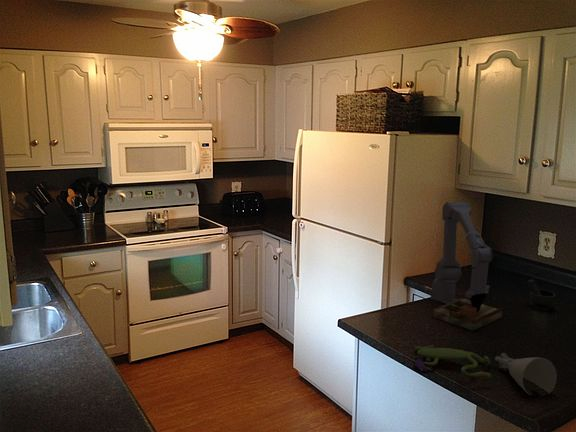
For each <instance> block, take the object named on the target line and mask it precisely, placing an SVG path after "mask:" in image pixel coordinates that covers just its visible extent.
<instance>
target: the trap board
mask: <svg viewBox="0 0 576 432" xmlns="http://www.w3.org/2000/svg"><path fill="white" fill-rule="evenodd" d="M457 299H458V300H455V301H453V302H450V303H448V304H444V305H440V306H439V307H436V308H433V309H432V310H431V311H432V312H431V318H434V319H437V320H439V319H440V320H439V321H442V320H443V321H442V322H445V321H446V322H445V323H447V322H449V323H448V324H450V323H452V324H451V325H453V324H455V325H454V326H456V325H458V326H461V327H464V328H467V329H470V330H473V331H474V330H476V329H478V328H480V327H482V326H484V325H486V326H488V325H489V323H490V324H492V323H494V322H495V321H498V320H500V319H502V318H501V317H503V308H504V307H501V306H500V307H499V308H496V307H492V306H489V305H486V304H483V303H482V305H481V308H480V310H479V312H476V319H474V318H471V317H468V316H465V315H462V314H459V312H460V307H462V306H464V305H469V306H472V305H471V301H470V299H468V298H464V297H460V298H457ZM497 319H498V320H497ZM493 321H494V322H493ZM491 322H492V323H491ZM487 324H488V325H487ZM458 326H457V327H458ZM461 327H460V328H461ZM484 327H485V326H484ZM464 328H463V329H464ZM482 328H483V327H482ZM467 329H466V330H467ZM480 329H481V328H480ZM470 330H469V331H470ZM478 330H479V329H478ZM476 331H477V330H476ZM474 332H475V331H474Z"/></svg>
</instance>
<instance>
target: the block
mask: <svg viewBox="0 0 576 432" xmlns="http://www.w3.org/2000/svg"><path fill="white" fill-rule="evenodd" d="M476 312H477V308H475V307H472V306H469V305H464V306H462V307H460V312H459V314H462V315H465V316H468V317H471V318H474V319H476Z"/></svg>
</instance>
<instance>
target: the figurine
mask: <svg viewBox="0 0 576 432" xmlns="http://www.w3.org/2000/svg"><path fill="white" fill-rule="evenodd" d="M434 346H435V345H434V344H431V345H429V346H428V345H426V346H420V345H419V346H418V345H416V346H415V347H414V349H415V350H416V351H417V352H416V353H417V354H418V355H419V356H421V358H420V357H419V358H417V359H415V360H414V366H415V367H416V368H417V369H418V370H419V372H425V373H428V372H429V369H428V366H436V365H437V364H438V363H439V360H445V361H446V362H448V363H449V364H451V365H452V362H451V361H449V360H463V359H464V360H465V359H467V360H468V361H469V362H471V363H472V364H467V365H464V366H462V367H461V368H460V372H461V373H463V375H467V376H469V377H486V378H489V379H491V378H492V373H489V372H485V371H478V372H472V373H471V372H467V371H466V370H470V369H475V368H477V367H478V362H477V360H478V361H479V362H481V363H485V362H486V363H487V365H488V364H490V365H491V362H492V361H491V359H490V358H489V356H487V355H484V356H483V358H482V357H481V356H480V355H478V354H477V353H475V352H472V351H466V350H463V349H456V348H449V347H447V348H446V347H434ZM422 356H423V357H426V358H425V360H426V361H424V358H423V357H422ZM475 359H476V360H475ZM432 360H433V361H432ZM427 361H430V362H427Z"/></svg>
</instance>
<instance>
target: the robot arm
mask: <svg viewBox="0 0 576 432" xmlns="http://www.w3.org/2000/svg"><path fill="white" fill-rule="evenodd" d="M441 213H442V214H441V215H442V216H441V219H442V221H443V223H444V225H443V244H442V245H443V248H442V249H443V250H442V258H441V259H440V260H438V261H436V263H435V269H434V277H435V278H434V279H433V281H432V283H431V292H430V297H429V299H431V300H434V301H437V302H439V303H444V305H446V304H448V303H450V302H453V301H455V300H458V299H459V298H455V295H456V284H457V283H458V282H459V280H460V279H461V277H462V269H461V263H460V262H459V261H458V260H457V259H456V254H457V253H456V251H457V228H458V226H457V225H458V223H460V225H461V226H462V228H463V230H464V232H465V233H466V236H465V240H466V243H467V245H468V247H469V250H470V254H469V255H470V257H469V258H470V260H471V261H470V262H471V263H470V265H471V266H472V267H471V277H470V278H471V279H470V286H469V289H468V290H467V291H465V298H466V299H469V300H470V301H471V305H472V307H475V308H477V312H479V310H480V308H481V305H482V304H483V303H484V301H485V299H486V298H487V295H488V294H489V293H490V292H489V291H490V285H487V282H488V274H489V273H488V272H489V264H490V263H491V262H492V261H493V259H494V253H493V250H492V248H491V247H489V245H487V244H486V243H485V241H484V239H483V237H482V235H481V233H480V232H479V231H477V230H476V228H475V225H474V223H473V219H472V217H471V214H472V207H471V204H470V203H469V202H468V201H465V202H464V201H463V202H462V201H460V202H459V201H458V202H456V201H455V202H454V201H453V202H449V201H447V202H446V201H445V203H444V204H443V206H442V212H441Z"/></svg>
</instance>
